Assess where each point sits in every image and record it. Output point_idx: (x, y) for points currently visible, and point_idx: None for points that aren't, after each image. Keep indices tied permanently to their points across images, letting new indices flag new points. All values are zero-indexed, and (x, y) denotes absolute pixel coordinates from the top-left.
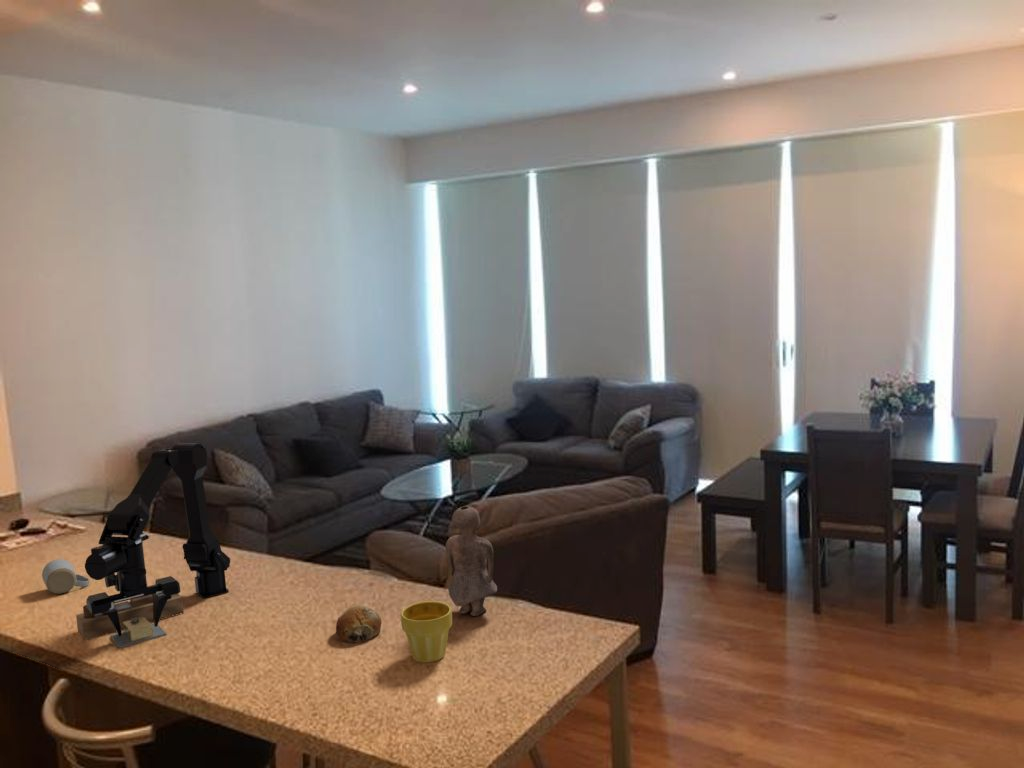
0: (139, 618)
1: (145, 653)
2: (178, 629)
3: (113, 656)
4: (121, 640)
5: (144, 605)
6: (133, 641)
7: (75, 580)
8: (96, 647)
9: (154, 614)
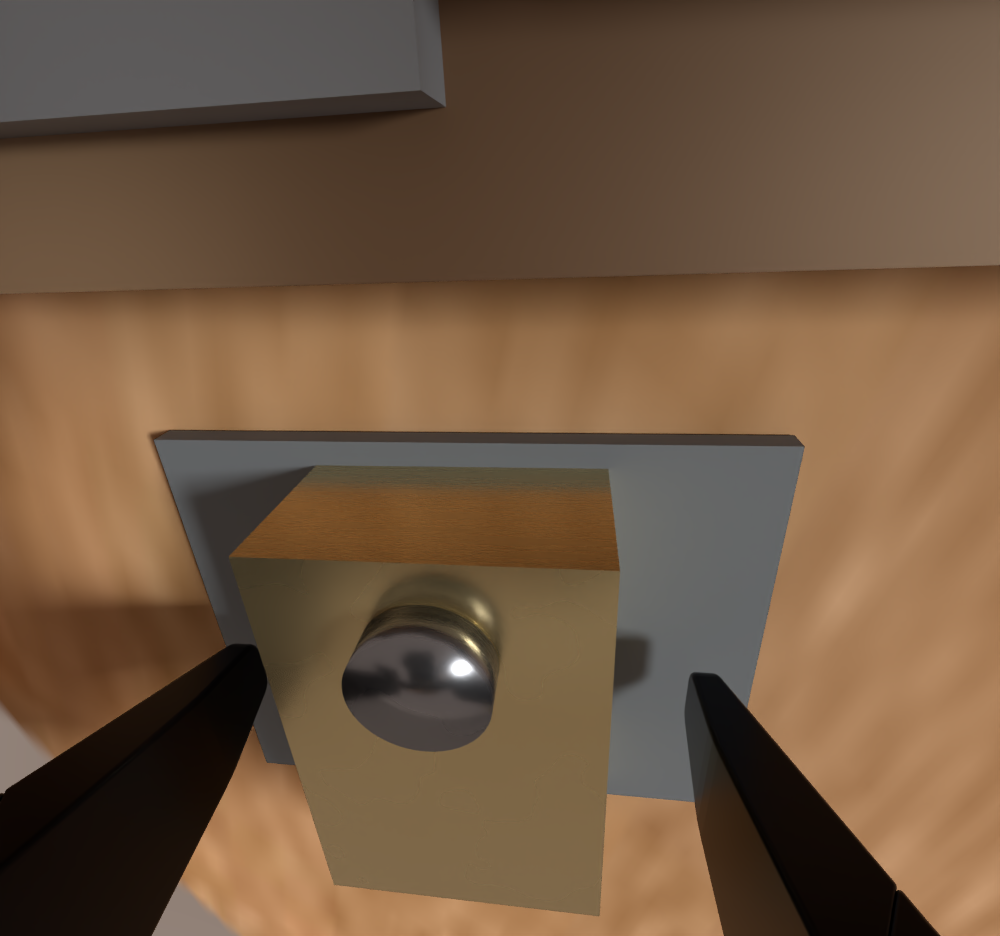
0: (523, 604)
1: (453, 923)
2: (896, 751)
3: (236, 830)
4: None
5: (924, 87)
6: None
7: None
8: (64, 595)
9: (744, 885)
